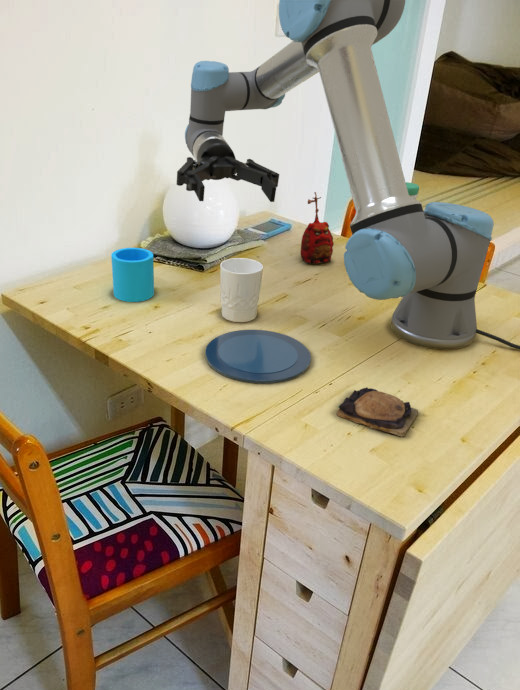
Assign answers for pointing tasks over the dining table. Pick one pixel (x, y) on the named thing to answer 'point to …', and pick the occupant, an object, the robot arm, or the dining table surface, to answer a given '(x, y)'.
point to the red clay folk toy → (317, 240)
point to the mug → (133, 274)
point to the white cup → (240, 288)
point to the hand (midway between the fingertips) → (238, 194)
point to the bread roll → (378, 411)
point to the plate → (257, 356)
